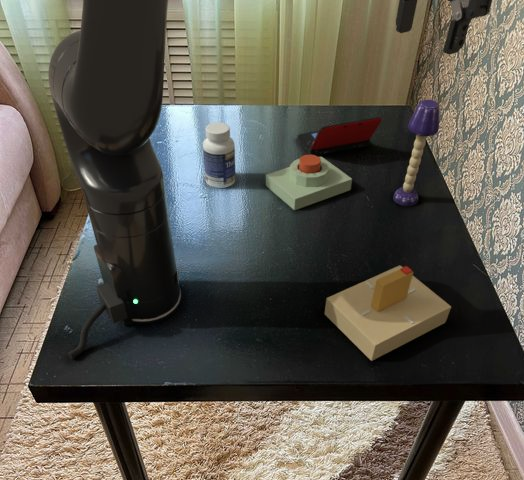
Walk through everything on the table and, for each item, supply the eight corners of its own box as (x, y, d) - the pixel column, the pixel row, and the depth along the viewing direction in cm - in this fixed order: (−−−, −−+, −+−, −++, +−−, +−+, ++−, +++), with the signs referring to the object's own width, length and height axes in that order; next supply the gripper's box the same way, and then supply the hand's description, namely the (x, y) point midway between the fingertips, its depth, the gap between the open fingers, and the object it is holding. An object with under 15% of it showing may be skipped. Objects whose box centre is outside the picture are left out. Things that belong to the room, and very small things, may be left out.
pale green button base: (294, 210, 90) (295, 189, 87) (265, 185, 95) (265, 164, 92) (350, 190, 94) (353, 169, 91) (320, 167, 99) (322, 146, 96)
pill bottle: (231, 190, 94) (229, 137, 86) (202, 187, 94) (197, 133, 87) (238, 174, 97) (237, 122, 90) (210, 171, 98) (206, 118, 91)
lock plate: (371, 361, 68) (375, 344, 66) (324, 314, 73) (326, 297, 71) (445, 322, 73) (452, 305, 70) (395, 281, 78) (400, 264, 76)
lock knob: (377, 312, 69) (384, 284, 66) (370, 305, 70) (376, 278, 67) (406, 298, 71) (414, 270, 68) (399, 292, 72) (406, 264, 68)
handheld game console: (352, 130, 109) (357, 92, 103) (377, 155, 102) (384, 117, 97) (295, 139, 106) (297, 101, 101) (316, 166, 100) (320, 127, 94)
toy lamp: (425, 203, 91) (451, 105, 79) (403, 211, 90) (427, 112, 77) (407, 190, 94) (430, 93, 82) (386, 197, 93) (406, 99, 80)
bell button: (307, 176, 90) (307, 167, 89) (294, 167, 92) (295, 157, 91) (324, 171, 91) (325, 161, 90) (311, 161, 93) (312, 152, 92)
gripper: (392, -134, 59) (367, 30, 71) (493, -114, 51) (446, 66, 63) (440, -138, 62) (409, 21, 74) (543, -119, 54) (489, 54, 66)
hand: (426, 41), depth 69 cm, fingers open, 8 cm apart
